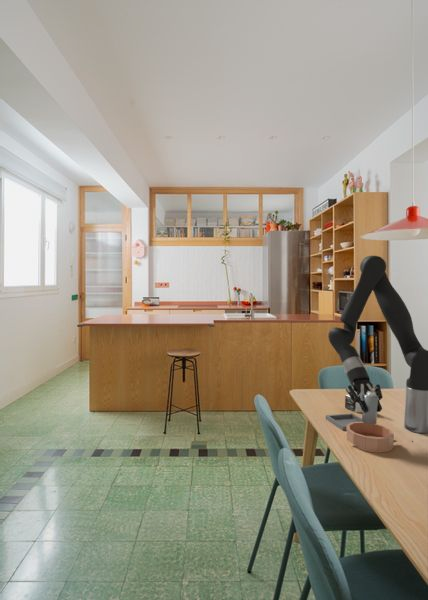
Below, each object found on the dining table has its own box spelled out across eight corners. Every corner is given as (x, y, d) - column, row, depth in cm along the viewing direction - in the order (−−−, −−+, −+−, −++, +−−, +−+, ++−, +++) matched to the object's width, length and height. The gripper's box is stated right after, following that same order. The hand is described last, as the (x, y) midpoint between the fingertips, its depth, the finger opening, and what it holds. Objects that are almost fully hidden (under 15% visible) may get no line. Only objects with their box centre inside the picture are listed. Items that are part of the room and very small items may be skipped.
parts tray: (352, 418, 174) (352, 413, 174) (371, 430, 161) (371, 424, 161) (325, 421, 170) (325, 415, 170) (342, 432, 158) (342, 426, 158)
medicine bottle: (344, 409, 186) (345, 384, 185) (356, 408, 188) (358, 383, 188) (354, 414, 179) (356, 388, 178) (367, 413, 182) (368, 387, 181)
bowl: (373, 432, 159) (374, 420, 158) (402, 450, 143) (403, 436, 143) (338, 436, 155) (338, 423, 154) (363, 454, 139) (363, 440, 139)
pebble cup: (370, 419, 151) (372, 389, 151) (379, 424, 147) (381, 393, 146) (359, 419, 150) (361, 390, 149) (367, 424, 145) (369, 394, 145)
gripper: (343, 366, 153) (360, 407, 142) (376, 365, 156) (395, 405, 145) (335, 376, 158) (351, 417, 147) (366, 375, 162) (384, 414, 151)
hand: (373, 411), depth 146 cm, fingers closed on pebble cup, 5 cm apart
